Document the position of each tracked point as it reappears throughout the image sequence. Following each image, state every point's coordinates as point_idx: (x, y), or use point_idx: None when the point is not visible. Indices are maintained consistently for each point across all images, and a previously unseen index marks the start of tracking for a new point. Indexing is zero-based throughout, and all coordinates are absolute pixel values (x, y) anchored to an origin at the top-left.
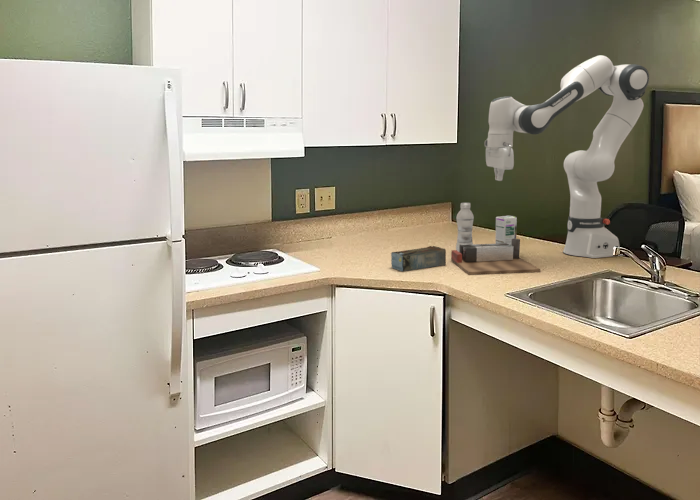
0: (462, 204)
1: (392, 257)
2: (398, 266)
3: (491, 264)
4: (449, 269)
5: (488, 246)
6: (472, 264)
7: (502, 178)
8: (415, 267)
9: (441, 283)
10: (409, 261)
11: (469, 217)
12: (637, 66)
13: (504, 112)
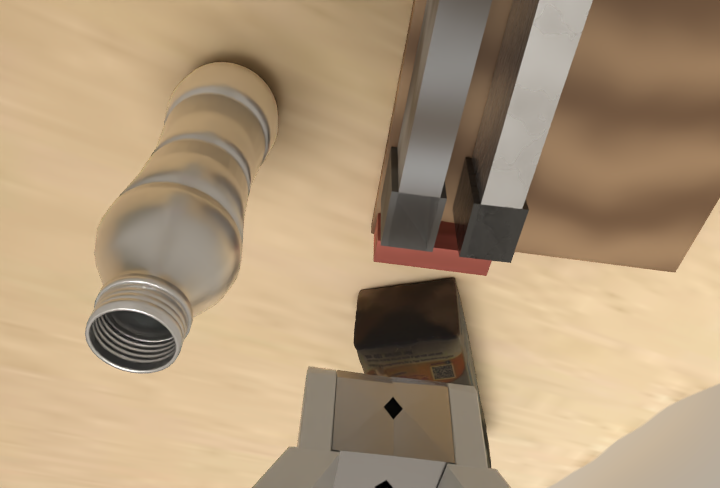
0: (163, 363)
1: None
2: None
3: (607, 115)
4: (534, 289)
5: (517, 127)
6: (552, 201)
7: (480, 417)
8: (478, 393)
9: (714, 379)
10: None
11: (237, 251)
12: None
13: None
